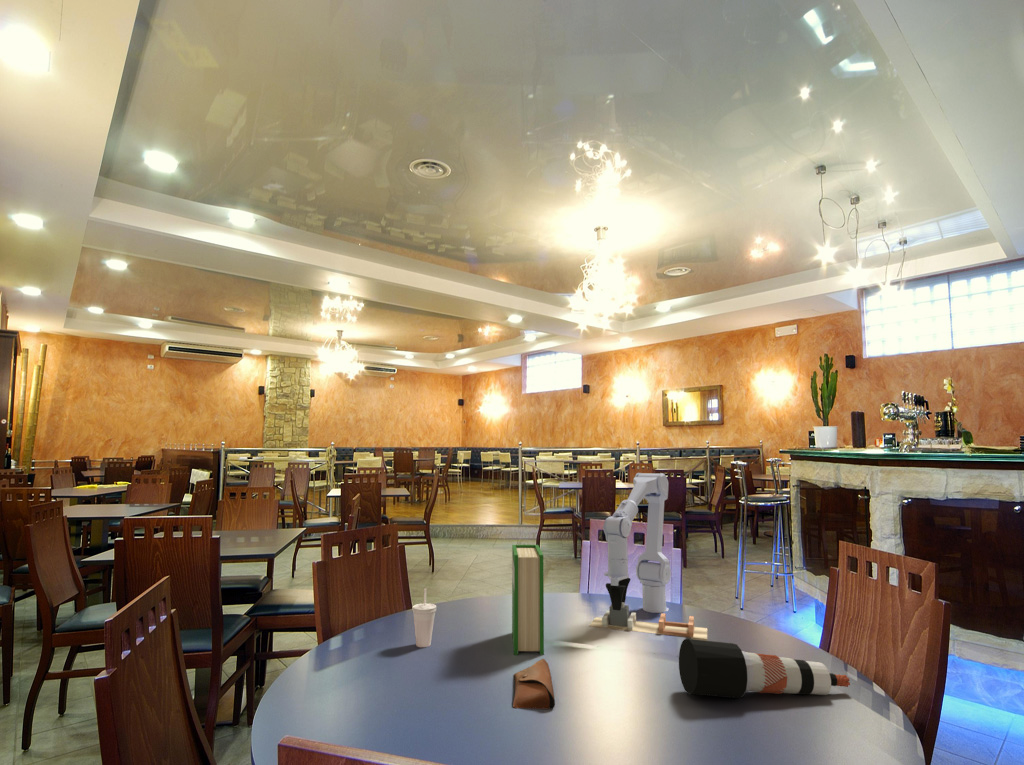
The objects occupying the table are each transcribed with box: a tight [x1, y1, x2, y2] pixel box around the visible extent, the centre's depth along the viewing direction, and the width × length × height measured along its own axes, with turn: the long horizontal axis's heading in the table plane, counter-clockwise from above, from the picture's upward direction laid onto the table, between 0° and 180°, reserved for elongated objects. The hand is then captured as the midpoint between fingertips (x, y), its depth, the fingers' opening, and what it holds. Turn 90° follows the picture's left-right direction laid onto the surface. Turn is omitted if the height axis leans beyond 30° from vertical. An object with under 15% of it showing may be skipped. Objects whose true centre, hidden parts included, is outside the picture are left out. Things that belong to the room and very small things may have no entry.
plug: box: [608, 601, 630, 627], centre depth 157 cm, size 4×5×6 cm
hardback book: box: [511, 544, 545, 656], centre depth 145 cm, size 18×7×24 cm, turn 2°
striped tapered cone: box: [678, 638, 851, 699], centre depth 112 cm, size 10×34×10 cm, turn 93°
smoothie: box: [411, 588, 437, 648], centre depth 143 cm, size 6×6×14 cm
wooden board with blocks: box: [588, 609, 708, 641], centre depth 154 cm, size 10×32×4 cm, turn 70°
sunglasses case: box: [512, 658, 556, 710], centre depth 114 cm, size 18×7×7 cm
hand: (618, 606), depth 157 cm, fingers open, 7 cm apart
